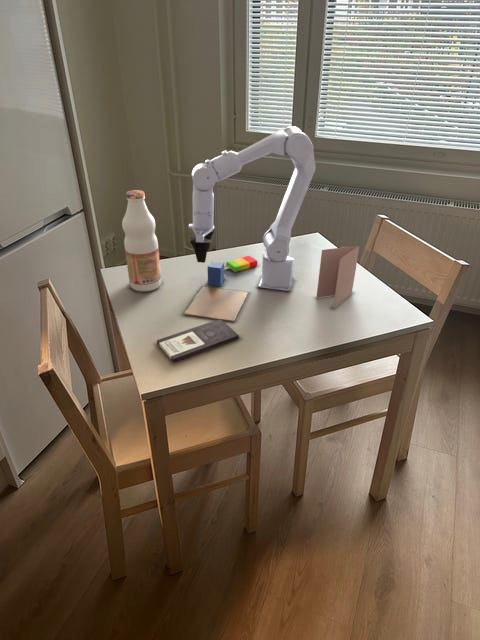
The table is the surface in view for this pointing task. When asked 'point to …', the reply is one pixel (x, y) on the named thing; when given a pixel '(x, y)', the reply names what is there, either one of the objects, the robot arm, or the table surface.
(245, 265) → the popsicle
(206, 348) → the chocolate bar
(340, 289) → the greeting card
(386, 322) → the table surface
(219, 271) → the blue block
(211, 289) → the cork mat
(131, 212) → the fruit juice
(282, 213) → the robot arm
